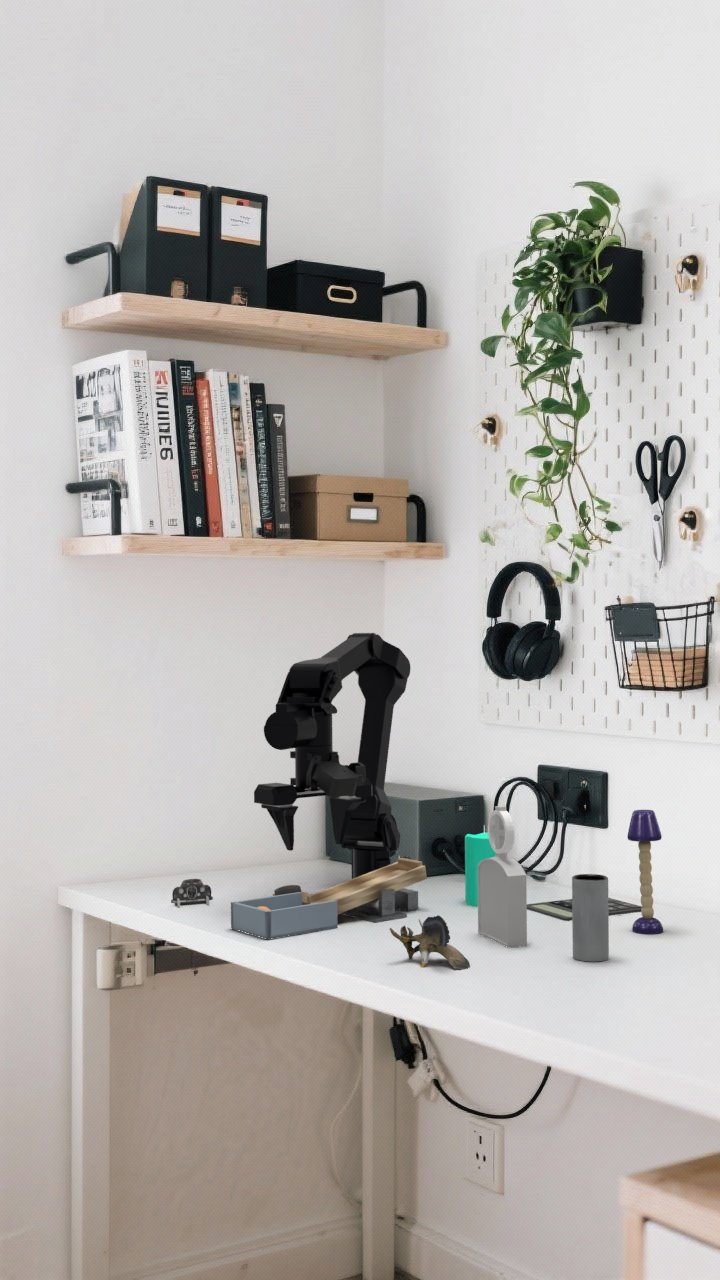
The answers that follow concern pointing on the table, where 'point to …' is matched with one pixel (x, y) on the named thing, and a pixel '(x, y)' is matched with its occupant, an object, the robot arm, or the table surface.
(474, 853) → the candle
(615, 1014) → the table surface
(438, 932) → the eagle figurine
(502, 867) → the gravestone
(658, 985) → the table surface
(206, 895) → the car cutout
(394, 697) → the robot arm
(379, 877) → the lever
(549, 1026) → the table surface
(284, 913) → the tray
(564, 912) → the calculator
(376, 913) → the stand
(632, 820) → the toy lamp
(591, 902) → the planter
